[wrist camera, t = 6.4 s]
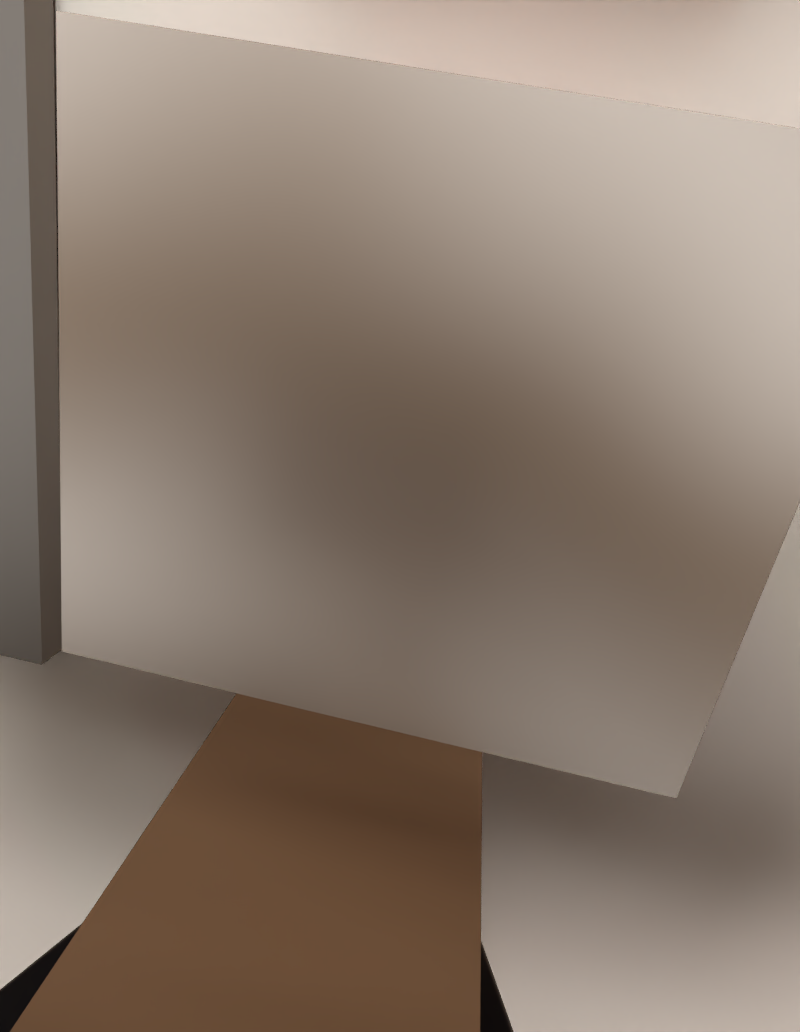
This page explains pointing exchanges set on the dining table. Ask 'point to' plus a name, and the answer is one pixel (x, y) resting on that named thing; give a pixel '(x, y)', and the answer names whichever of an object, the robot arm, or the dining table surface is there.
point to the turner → (395, 488)
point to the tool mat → (29, 337)
